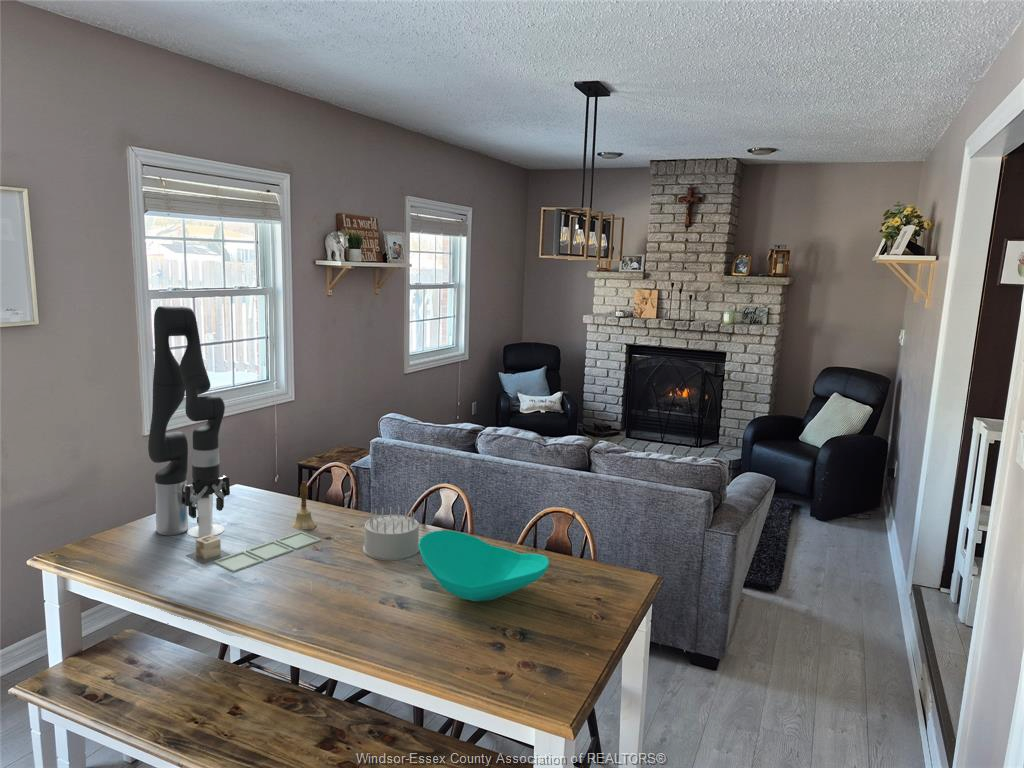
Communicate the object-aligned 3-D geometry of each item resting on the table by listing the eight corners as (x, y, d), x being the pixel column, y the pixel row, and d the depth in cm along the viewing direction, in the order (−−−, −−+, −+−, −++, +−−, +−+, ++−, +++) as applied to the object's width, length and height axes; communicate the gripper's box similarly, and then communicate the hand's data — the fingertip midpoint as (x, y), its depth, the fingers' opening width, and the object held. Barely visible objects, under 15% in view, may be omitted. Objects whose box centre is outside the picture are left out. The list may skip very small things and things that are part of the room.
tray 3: (276, 542, 228) (276, 539, 228) (301, 534, 236) (301, 531, 236) (295, 551, 223) (295, 548, 223) (321, 541, 231) (321, 538, 231)
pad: (185, 557, 214) (185, 555, 214) (213, 548, 222) (213, 546, 222) (202, 565, 209) (202, 563, 209) (230, 556, 217) (230, 554, 217)
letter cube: (196, 554, 215) (195, 539, 214) (211, 550, 219) (211, 534, 218) (205, 559, 212) (205, 543, 211) (220, 554, 216) (220, 538, 215)
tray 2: (246, 553, 219) (246, 549, 219) (273, 543, 228) (273, 540, 227) (265, 561, 214) (265, 558, 214) (293, 552, 222) (293, 548, 222)
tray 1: (213, 564, 211) (213, 560, 210) (243, 553, 219) (243, 550, 219) (233, 573, 205) (233, 570, 205) (263, 562, 213) (263, 559, 213)
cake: (410, 563, 218) (411, 522, 216) (354, 557, 220) (354, 516, 218) (426, 541, 235) (427, 503, 233) (374, 536, 238) (375, 498, 236)
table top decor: (394, 593, 198) (395, 549, 195) (451, 560, 221) (453, 520, 219) (516, 636, 178) (519, 587, 176) (565, 595, 202) (568, 551, 199)
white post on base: (189, 525, 239) (188, 482, 237) (225, 523, 243) (225, 481, 240) (185, 539, 228) (183, 494, 225) (222, 536, 231) (221, 492, 229)
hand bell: (289, 523, 245) (289, 479, 243) (314, 520, 249) (314, 477, 246) (293, 532, 238) (293, 486, 235) (318, 529, 241) (318, 484, 239)
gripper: (220, 454, 218) (220, 504, 221) (175, 464, 207) (176, 516, 210) (234, 460, 214) (234, 511, 217) (190, 470, 203) (191, 523, 206)
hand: (206, 513), depth 213 cm, fingers open, 8 cm apart
